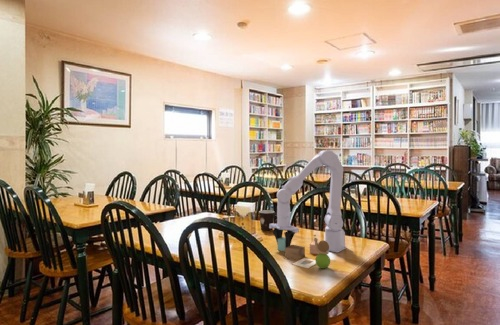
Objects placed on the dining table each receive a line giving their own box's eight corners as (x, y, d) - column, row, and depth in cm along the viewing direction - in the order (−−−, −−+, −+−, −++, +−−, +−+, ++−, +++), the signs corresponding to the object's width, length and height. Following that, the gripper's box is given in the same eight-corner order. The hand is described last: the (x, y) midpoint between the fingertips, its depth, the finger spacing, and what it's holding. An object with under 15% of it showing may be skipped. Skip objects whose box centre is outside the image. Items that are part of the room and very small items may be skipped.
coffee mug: (256, 228, 191) (256, 210, 191) (271, 227, 194) (271, 209, 193) (263, 233, 180) (263, 214, 180) (279, 232, 183) (279, 213, 182)
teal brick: (282, 247, 154) (282, 236, 154) (290, 249, 152) (290, 238, 151) (277, 249, 151) (277, 238, 151) (285, 251, 148) (285, 240, 148)
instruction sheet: (304, 258, 139) (304, 257, 139) (319, 262, 134) (319, 261, 134) (292, 264, 132) (292, 263, 132) (308, 268, 127) (308, 267, 127)
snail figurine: (317, 263, 132) (317, 233, 132) (332, 267, 128) (332, 235, 128) (310, 267, 128) (310, 236, 128) (326, 271, 124) (326, 239, 124)
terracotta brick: (312, 250, 149) (312, 241, 149) (321, 251, 148) (321, 242, 148) (309, 253, 146) (309, 244, 146) (318, 254, 144) (318, 245, 144)
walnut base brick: (292, 253, 146) (292, 244, 146) (304, 256, 142) (304, 246, 142) (285, 257, 141) (285, 248, 141) (297, 260, 138) (297, 250, 137)
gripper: (265, 215, 152) (265, 245, 153) (292, 219, 143) (292, 251, 144) (274, 213, 158) (274, 242, 158) (301, 216, 148) (301, 247, 149)
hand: (283, 246), depth 151 cm, fingers closed on teal brick, 4 cm apart
